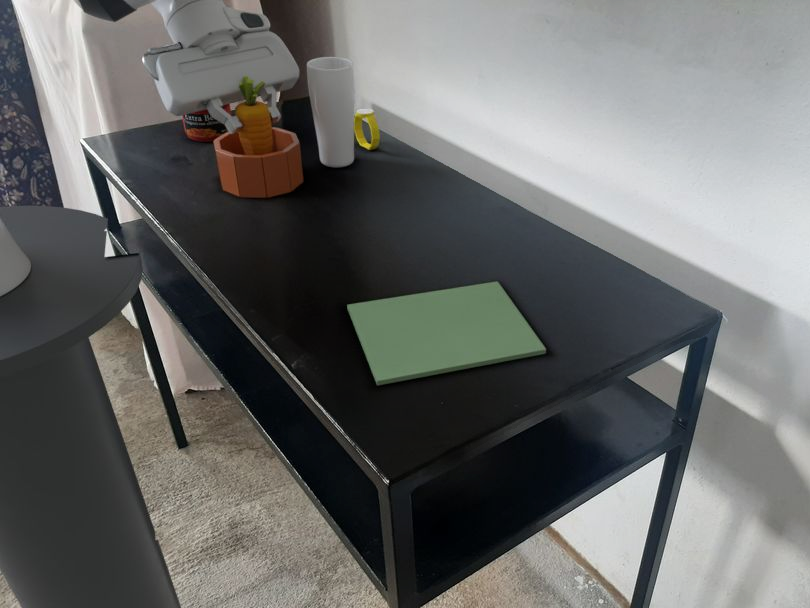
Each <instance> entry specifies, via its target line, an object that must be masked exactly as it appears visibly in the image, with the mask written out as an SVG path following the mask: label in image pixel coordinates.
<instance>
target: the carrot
mask: <svg viewBox="0 0 810 608" xmlns="http://www.w3.org/2000/svg"><path fill="white" fill-rule="evenodd" d="M253 82H254V80H252V79H248V76H245V77H243V82H240V83H239V84H238V85H239V88H240V90H241V93H242V94H243V96H244V98H245V100H244V101H243V102H240V103H239V104H237V105H236V106H235V107H234V116H236V115H237V116H238V118H239V121H240V122H241V123H242V126H243V128H242V129H241V132H239V136H240V140H241V144H242V147H243V150H244V153H245V155H264V154H269V153H272V144H273V139H272V127H273V126H272V123H271V117H270V112H269V109H268V107H267V103H265V102H263V101H258V100H257V98H258V97H257V96H258V95H257V93H258V91H259V90H260V88H261V87H262V86H264V85H265V83H264V82H263V81H262V82H260V83H259V84H258V85H257V86H256V88H255V90H254V89H253V90H252V87H253ZM243 83H244V85H243ZM251 92H252V97H251Z"/></svg>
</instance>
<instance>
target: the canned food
mask: <svg viewBox="0 0 810 608" xmlns="http://www.w3.org/2000/svg"><path fill="white" fill-rule="evenodd" d="M222 109H224V110H225V111H226V112H227V113H229V114H230V115H231V116H233V115H232V110H231V103H230V104H226V105H223V106H222ZM181 119H182V123H183V128H184V133H186V136H187V137H188V138H189V139H190V140H192V141H195V142H199V143H211V142H212V143H214V140H215V139H216V138H218V137H220V136H221V135H223V134H225V133H226V132H228V130H227V128H226V126H225V124H222V123H221V122H219V121H218V120H217V119H215V118H214V117H212V116H211V115H210V113H209V112H208V110H207V109H206V110H202V111H198V112H193V113H189V114H185V115H181Z"/></svg>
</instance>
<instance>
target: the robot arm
mask: <svg viewBox="0 0 810 608" xmlns="http://www.w3.org/2000/svg"><path fill="white" fill-rule="evenodd" d="M73 1H74V3H75V4H76V5H77V6H78V7H79V9H81V10H82V11H83V13H85V14H86V15H89V16H92V17H93V18H97V19H100V20H103V21H108V22H111V23H116V22H118V21H120V20H122V19H123V18H125V17H127V16H129V15H131V14H133V13H134V12H137V11H138V9H140V8H142V7H145V6H147V5H149V4H151V6H152V7H153V8H154V9H155V10H156V11H157V12H158V13H159V14H160V16H161V18H162V20H163V23H164V28H165V30H166V32H167V34H168V35H169V37H170V39H171V41H172V43H169V44H166V45H162V46H152V47H149V48H147V51H146V52H145V53H144V54H143V55H142V57H141V58H142V64H143V67H144V69H145V70H146V72H147V73H148V75H149V76H150V77H151V79H153V81H154V83H155V86H156V89H157V92H158V94H159V96H160V98H161V101H162V103H163V105H164V107H165V109H166V110H167V112H169V113H170V114H172V115H173V116H175V117H180V116H181V117H182V115H185V114H189V113H193V112H198V111H202V110H206V109H207V110H208V112H209V113H210V115H211V116H212V117H214V118H215V119H217V120H218V121H219V122H221V123H222V124H225V126H226V128H227V130H228V131H229V133H230V134H234V133H238V132H241V129H242V128H243V126H242V123H241V122H240V121H239V118H238V116H237V115H236V116H235V115H232V114H231V115H232V116H231V115H230V114H229V113H227V112H226V111H225V110H224V109H222V106H223V105H226V104H230V105H231V104H234V103H238V102H242V101H243V102H244V101H246V100H245V98H244V96H243V94H242V93H241V90H240V88H239V85H238V84H239V83H240V82H243V77H245V76H248V79H252V80H254V82H253V87H252V90H253V89H254V90H255V88H256V86H257V85H258V84H259V83H260V82H262V81H263V82H264V83H265V85H264V86H262V87H261V88H260V90H259V91H258V93H257V95H258V96H257V98H261V101H262V103H265V102H266V105H267V107H268V109H269V112H270V117H271V124H275V123H278V122H279V121H280V120H281V119H282V114H281V113H280V110H279V108H278V107H277V93H280V92H284V91H287V90H291V89H293V87H294V86H295V85H296V83H297V81H298V80H299V78H300V68H299V66H298V64H297V62H296V60H295V58H294V56H293V55H292V53H291V52H290V50H289V48H288V47H287V45H286V44H285V42H284V41H283V40H282V39H281V38H280V36H278V35H277V34H276V33H274V32H273V31H270V28H271V22H270V19H269V18H268V17H267V16H266V15H265V14H263V13H258V12H250V11H245V10H240V9H236V8H233V7H228V6H226V4H225V2H224V1H223V0H73ZM243 85H244V83H243ZM251 97H252V92H251ZM30 270H31V262H30V260H29V258H28V257H27V256H26V255H25V254H24V253H23V251H22V250H21V249H20V247H19V246H18V245H17V243H16V242H15V240H14V239H13V238H12V236H11V234H10V233H9V231H8V229H7V228H6V226H5V224H4V223H3V221H2V219H1V217H0V296H2V295H4V294H6V293H8V292H9V291H11V290H13V289H14V288H15V287H17V286H18V285H19V284H21V283H22V282H23V281H24V280H25V279H26V277H27V276H28V274H29V273H30Z"/></svg>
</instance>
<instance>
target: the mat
mask: <svg viewBox="0 0 810 608" xmlns="http://www.w3.org/2000/svg"><path fill="white" fill-rule="evenodd" d="M346 306H347V312H348V314H349V316H350V320H351V321H352V324H353V327H354V330H355V332H356V335H357V337H358V339H359V342H360V345H361V347H362V348H361V349H362V351H363V354H364V355H365V358H366V361H367V363H368V365H369V369H370V371H371V374H372V376H373V378H374V381H375V384H376V386H383V385H388V384H393V383H397V382H403V381H409V380H414V379H419V378H425V377H430V376H435V375H441V374H446V373H452V372H456V371H461V370H467V369H471V368H472V369H473V368H477V367H483V366H488V365H493V364H499V363H504V362H509V361H515V360H520V359H525V358H531V357H536V356H541V355H545V354H546V353H547V348H546V347H545V345H544V344H543V342H542V341H541V340H540V339H539V337H538V336H537V334H536V333H535V331H534V330H533V329H532V327H531V325H530V324H529V323H528V321H527V320H526V319H525V317H524V316H523V314H522V313H521V312H520V311H519V309H518V307H517V306H516V305H515V303H514V302H513V301H512V299H511V298H510V296H509V295H508V294H507V292H506V291H505V289H504V288H503V287H502V286H501V283H499V281H491V282H485V283H477V284H472V285H465V286H459V287H452V288H446V289H440V290H439V289H438V290H433V291H426V292H421V293H420V292H419V293H413V294H408V295H407V294H406V295H401V296H394V297H389V298H388V297H387V298H382V299H374V300H368V301H362V302H356V303H350V304H347V305H346Z"/></svg>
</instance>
